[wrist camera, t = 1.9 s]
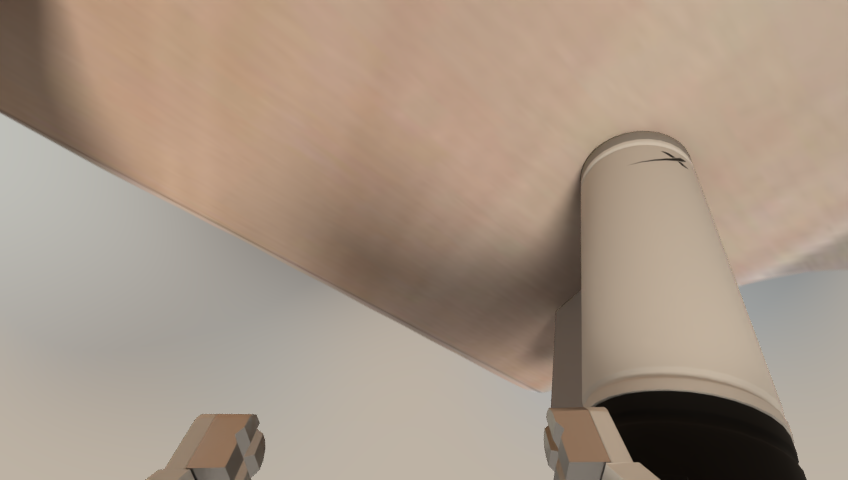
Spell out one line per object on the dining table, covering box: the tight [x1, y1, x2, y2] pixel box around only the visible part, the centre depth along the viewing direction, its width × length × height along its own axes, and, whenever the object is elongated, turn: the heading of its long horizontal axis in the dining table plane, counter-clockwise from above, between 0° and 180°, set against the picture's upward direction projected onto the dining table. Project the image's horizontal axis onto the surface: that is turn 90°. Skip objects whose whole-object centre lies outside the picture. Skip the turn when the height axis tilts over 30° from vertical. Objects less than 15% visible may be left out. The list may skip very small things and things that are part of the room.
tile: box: [551, 290, 583, 408], centre depth 29 cm, size 2×10×12 cm, turn 160°
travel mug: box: [581, 131, 806, 480], centre depth 19 cm, size 6×7×20 cm
